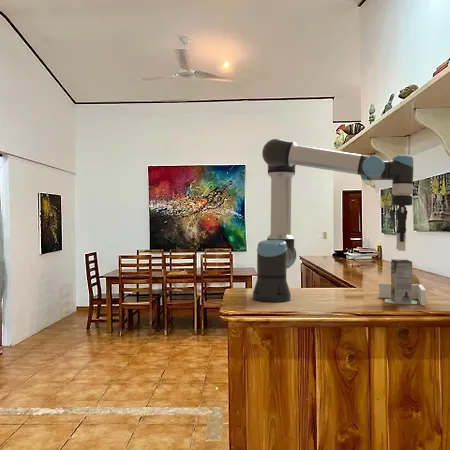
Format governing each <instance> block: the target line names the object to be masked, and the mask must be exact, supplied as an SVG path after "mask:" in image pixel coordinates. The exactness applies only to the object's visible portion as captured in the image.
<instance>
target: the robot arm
mask: <svg viewBox="0 0 450 450" xmlns="http://www.w3.org/2000/svg"><path fill="white" fill-rule="evenodd" d="M261 154H262V158H263V161H264V162H265V164H267V175H268V176H269V177H270V179H271V180H270V234H269V235H268V236H267V237H266V240H265V239H264V240H261V241H259V242H258V243H257V249H256V252H257V254H256V255H257V257H256V259H257V260H256V262H257V263H256V268H257V269H256V272H257V273H256V282H255V285H254V288H253V292H252V300H254V301H258V302H270V303H272V302H273V303H275V302H276V303H280V302H288V301H291V299H292V297H291V296H292V295H291V290H290V287H289V285H288V282H287V269H289V268H291V267H292V266H293V265H294V264H295V262H296V260H297V250H296V248H295V237H293V235H292V233H291V232H292V179H293V177H294V176H295V175H296V166H301V167H306V168H307V167H308V168H314V169H320V170H327V171H334V172H340V173H345V174H352V175H358V176H360V178H361V180H363V181H370V182H371V181H392V183H391V194H392V196H391V205H392V206H396V207H397V206H398V208H397V210H396V213H395V215H396V221H397V223H396V224H397V225H396V248H395V249H396V250H397V252H399V251H400V252H402V251H403V252H405V251H406V243H407V242H406V239H407V236H406V235H407V219H408V217H407V216H408V209H407V206H408V207H410V206H412V205H413V192H414V191H413V190H415V186H414V157H413V156H412V155H408V154H397V155H394V156H393V157H392V160H383V158H382V157H380V156H378V155H374V154H373V155H364V154H359V153H351V152H344V151H338V150H330V149H324V148H317V147H310V146H305V145H304V146H303V145H298V144H297V143H296V142H295V141H289V140H285V139H282V138H272V139H270V140H269V141H267V142H266V143H265V144H264V145H263V147H262V153H261Z"/></svg>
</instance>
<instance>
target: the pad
mask: <svg viewBox="0 0 450 450" xmlns="http://www.w3.org/2000/svg"><path fill="white" fill-rule="evenodd" d="M417 302H418V300H415V299H412V303H395V302H394V301H393V300H391V298H384V303H385V304H394V305H395V304H396V305H398V304H399V305H410V304H417Z"/></svg>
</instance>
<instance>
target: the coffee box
mask: <svg viewBox="0 0 450 450" xmlns="http://www.w3.org/2000/svg"><path fill="white" fill-rule="evenodd" d="M390 265H391V266H390V283H391V298H390V299H391V300H393V301H394V302H395V303H412V300H413V299H412V274H413V261H411V260H409V259H391V262H390Z"/></svg>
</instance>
